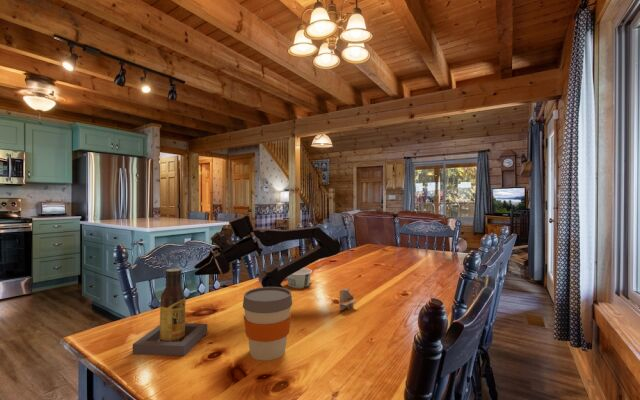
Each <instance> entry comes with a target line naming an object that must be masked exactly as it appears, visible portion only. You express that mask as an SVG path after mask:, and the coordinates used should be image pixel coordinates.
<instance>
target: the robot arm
mask: <svg viewBox="0 0 640 400" xmlns="http://www.w3.org/2000/svg"><path fill="white" fill-rule="evenodd" d="M228 223H229V224H228V225H229V226H230V229H231V231H232V233H233V235H234V238H238V239H239V240H238V241H236V242H233V241H231V242H228V239H229V238H228V237H227V236H226V235H225V234H220V233H219V231H217V232H215V233H214V234H213V235H212V236H211V237H210V241H212V243H213V244H215V246H212V247H211V249H209V252H208V254H207V256H206V257H204V258H203V259H202V260H200V261H199V262H198V263H196V264H194V269H195V270H196V271H194V275H195V276H208V275H209V276H211V275H212V276H213V275H223V276H224V275H225V274H227V273H229V272H230V270H231V264H232V263H234V262H237V261H238V262H240V261H242V260H243V258H245V257H248V256H249V255H251V254H254V253H255V254H256V255H257V256H258V257H261V255H262V252H263V251H264V248H262V247H260V245H259V244H261V245H262V246H263V247H265V248H266V247H272V246H276V245H279V244H281V243H283V242H287V241H288V242H289V241H297V240H305V239H314V240H315V242H316V245H315V247H314V248H312V249H310V250H308V251H306V252H305V253H303V254H301V255H299V256H298V257H296V258H293V259H291V260H289V261H287V262H286V263H284V264H282V265H279V266H277V265H275V264H274V263H272V264H270V265H269V266H267V267H265V268H264V267H263V268H262V271H261V272H259V275H258V277H257V278H258V282H259V284H260V286H261V287H281V288H285V287H284V286H283V285H282V283H283V282H284V281H285V279H287V277H288V276H289V275H291V274H293V273H295V272H297V271H299V270H300V269H302V268H306V267H307V266H309V265H311V264H313V263H315V262H317V261H319V260H321V259H326V258H330V257H333V256H337V255H338V254H340V253H341V250H342V249H341V248H342V245H341V243H340V241H339V240H338V239H334V238H333V237H331V236H330V235H328V233H326V232H325V231H323V230H322V229H321V227H318V226H311V227H309V226H308V227H301V228H292V229H290V228H289V229H276V228H275V229H274V228H267V227H266V228H261V229H257V228H254V226H253V225H252V222H251V219H250V217H249V215H248V214H245V215H243V216H239V217H235V218H233V219H231V220H229V221H228ZM253 236H254V237H255V238H256V239H254V237H253Z"/></svg>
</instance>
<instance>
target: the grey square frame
mask: <svg viewBox="0 0 640 400" xmlns="http://www.w3.org/2000/svg"><path fill="white" fill-rule="evenodd" d="M206 334H208V323H189V322H187V323H186V322H185V335H186V336H185V335H184V336H185V337H184V339H183V340H182V341H181V342H168V341H160V324H159V325H157V326H156V327H155V328H153V329H151V331H149V332H148V333H146V334H144V336H142V337H141V338H139V339H138V340H136V341H135V342H133V343H132V355H148V356H149V355H150V356H152V355H153V356H179V357H186V355H187V354H188V353H189V352H190V351H191V350H192V349H193V348H194V346H195V345H197V344H198V343H199V341H201V340H202V339H203V338H204V337H205V336H206Z"/></svg>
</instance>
